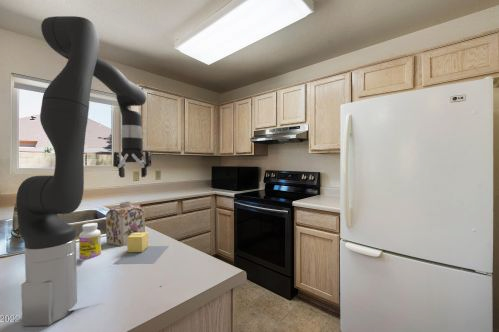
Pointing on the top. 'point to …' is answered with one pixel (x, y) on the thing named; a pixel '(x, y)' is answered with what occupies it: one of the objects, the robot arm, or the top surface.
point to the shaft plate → (143, 256)
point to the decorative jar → (124, 223)
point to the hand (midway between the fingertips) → (132, 177)
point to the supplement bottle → (89, 241)
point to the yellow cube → (137, 242)
